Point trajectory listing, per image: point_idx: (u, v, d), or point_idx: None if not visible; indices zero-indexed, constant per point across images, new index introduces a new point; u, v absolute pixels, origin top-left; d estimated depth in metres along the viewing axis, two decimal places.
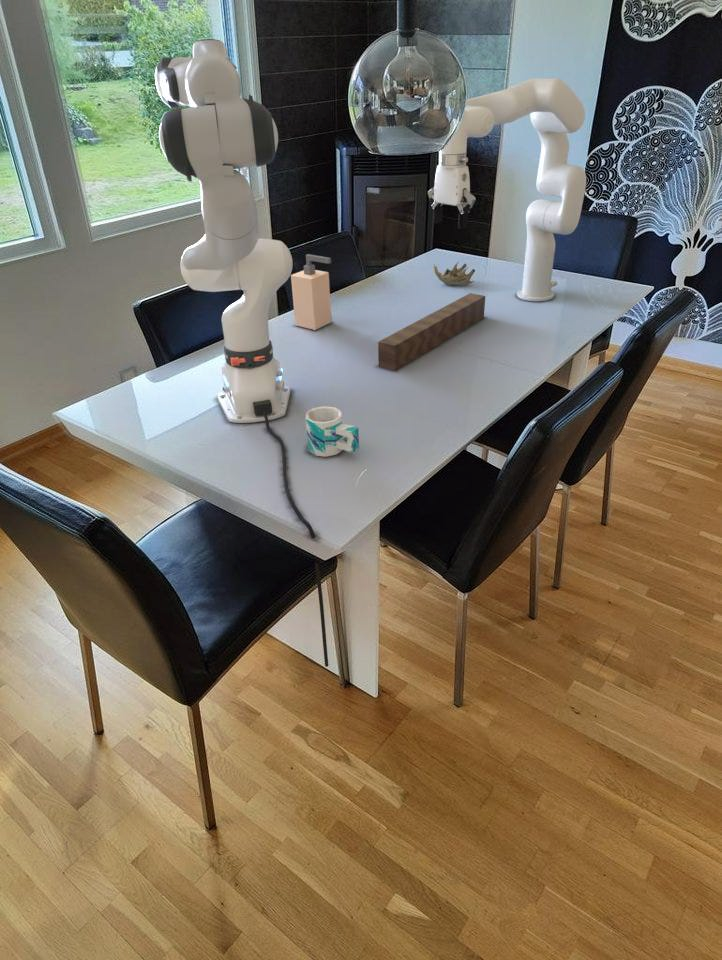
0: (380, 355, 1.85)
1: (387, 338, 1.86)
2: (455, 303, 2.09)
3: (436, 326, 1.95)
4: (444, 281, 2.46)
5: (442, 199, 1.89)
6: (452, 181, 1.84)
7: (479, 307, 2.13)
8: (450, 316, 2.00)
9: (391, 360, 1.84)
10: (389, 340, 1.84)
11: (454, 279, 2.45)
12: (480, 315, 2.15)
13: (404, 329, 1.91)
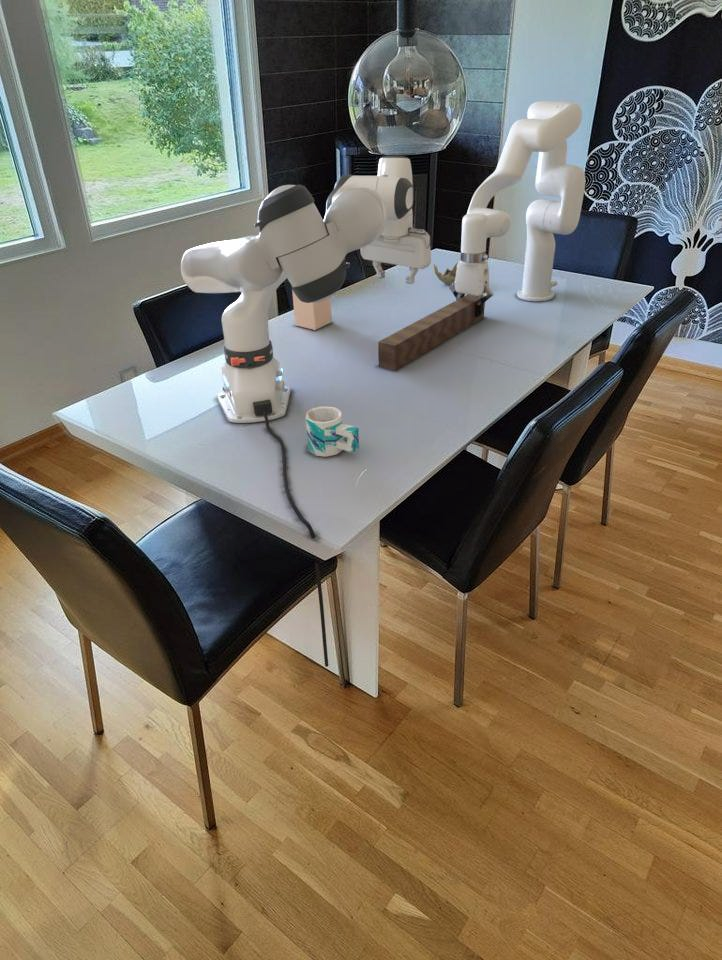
0: (380, 355, 1.85)
1: (387, 338, 1.86)
2: (455, 303, 2.09)
3: (436, 326, 1.95)
4: (444, 281, 2.46)
5: (464, 290, 2.10)
6: (475, 275, 2.05)
7: None
8: (450, 316, 2.00)
9: (391, 360, 1.84)
10: (389, 340, 1.84)
11: (454, 279, 2.45)
12: None
13: (404, 329, 1.91)
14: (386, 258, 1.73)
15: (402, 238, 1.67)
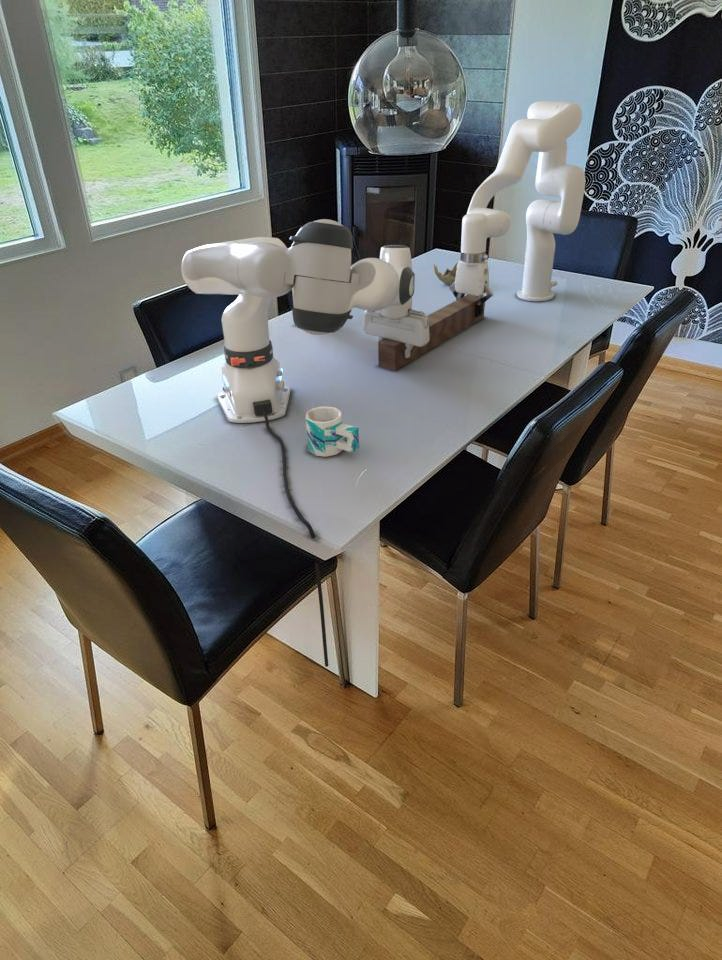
0: (380, 355, 1.85)
1: None
2: (455, 303, 2.09)
3: (436, 326, 1.95)
4: (444, 281, 2.46)
5: (464, 290, 2.10)
6: (475, 275, 2.05)
7: None
8: (450, 316, 2.00)
9: (391, 360, 1.84)
10: (389, 340, 1.84)
11: (454, 279, 2.45)
12: None
13: None
14: (387, 335, 1.84)
15: (402, 318, 1.79)
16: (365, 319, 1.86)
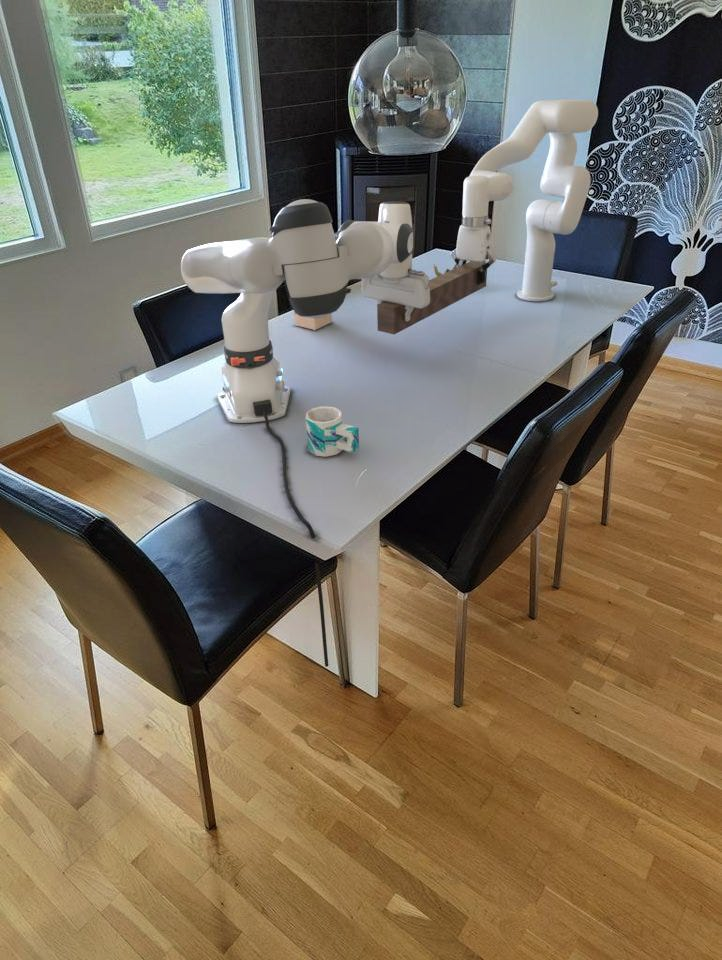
0: (379, 318, 1.80)
1: None
2: (456, 269, 2.03)
3: (437, 291, 1.90)
4: None
5: (466, 256, 2.04)
6: (477, 240, 1.99)
7: None
8: (451, 281, 1.94)
9: (390, 324, 1.78)
10: (389, 303, 1.78)
11: None
12: (482, 283, 2.09)
13: None
14: (386, 297, 1.79)
15: (402, 279, 1.73)
16: (364, 281, 1.80)
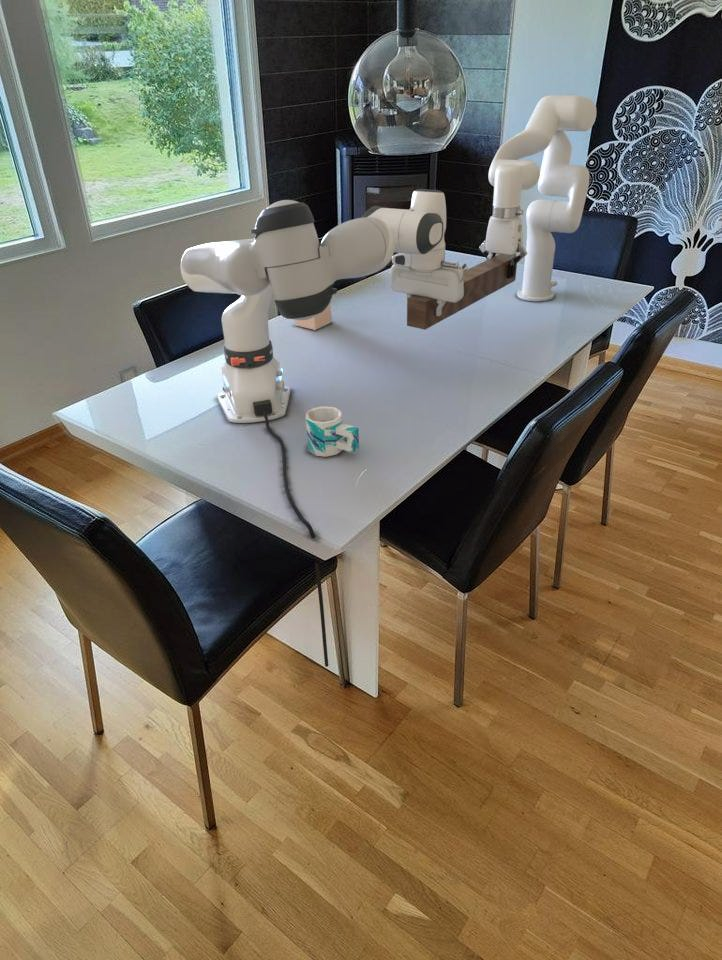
0: (409, 313, 1.71)
1: None
2: (486, 262, 1.95)
3: (467, 284, 1.81)
4: None
5: (495, 249, 1.96)
6: (508, 232, 1.91)
7: None
8: (482, 275, 1.86)
9: (421, 318, 1.70)
10: (419, 297, 1.70)
11: None
12: None
13: None
14: (417, 291, 1.70)
15: (435, 271, 1.64)
16: (393, 274, 1.72)
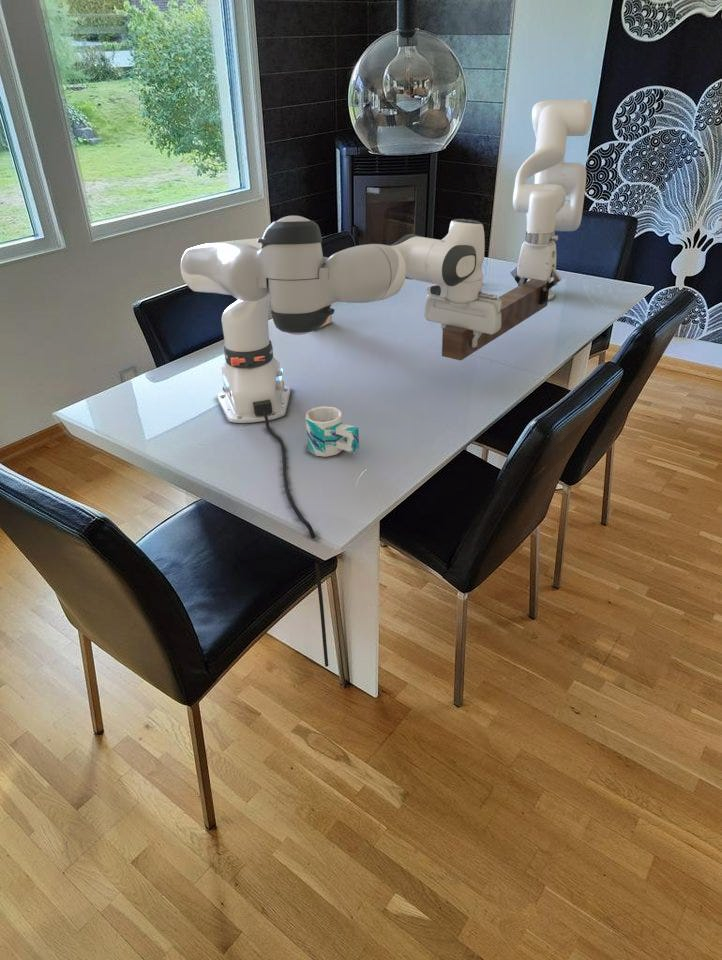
0: (444, 343, 1.67)
1: None
2: (518, 288, 1.90)
3: (502, 312, 1.77)
4: None
5: (528, 274, 1.92)
6: (542, 258, 1.87)
7: None
8: (516, 302, 1.82)
9: (457, 349, 1.65)
10: (455, 327, 1.65)
11: None
12: None
13: None
14: (452, 321, 1.66)
15: (472, 303, 1.60)
16: (427, 304, 1.67)
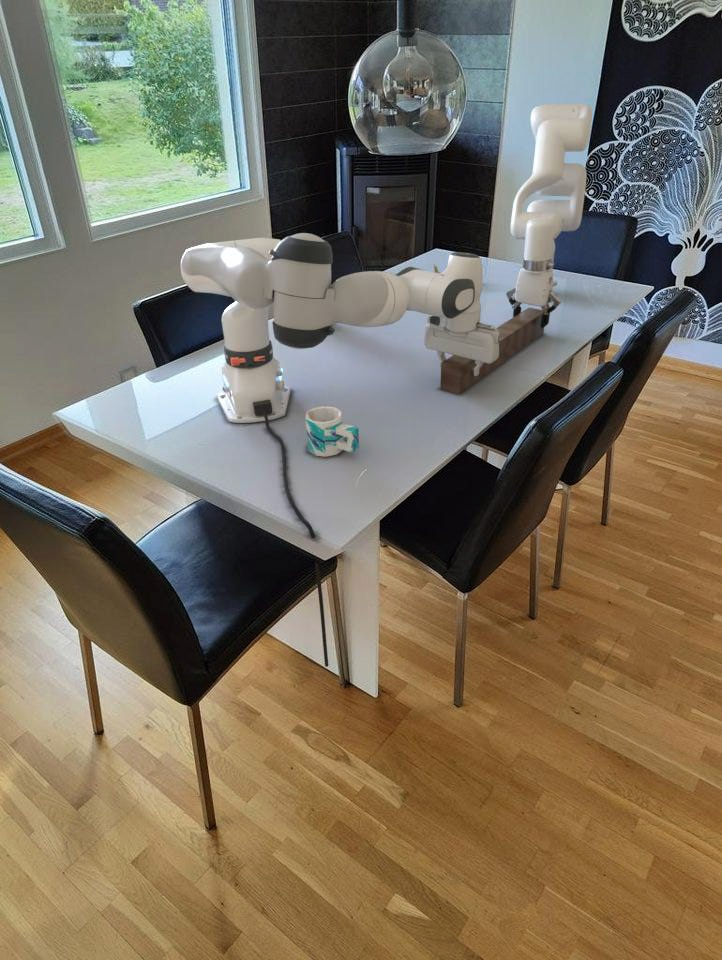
0: (443, 377, 1.72)
1: (450, 359, 1.72)
2: (515, 318, 1.95)
3: (499, 345, 1.81)
4: None
5: (525, 300, 1.95)
6: (539, 285, 1.91)
7: (539, 322, 1.99)
8: (513, 333, 1.86)
9: (455, 383, 1.70)
10: (453, 361, 1.70)
11: None
12: (540, 331, 2.01)
13: None
14: (451, 350, 1.70)
15: (470, 333, 1.64)
16: (427, 333, 1.71)
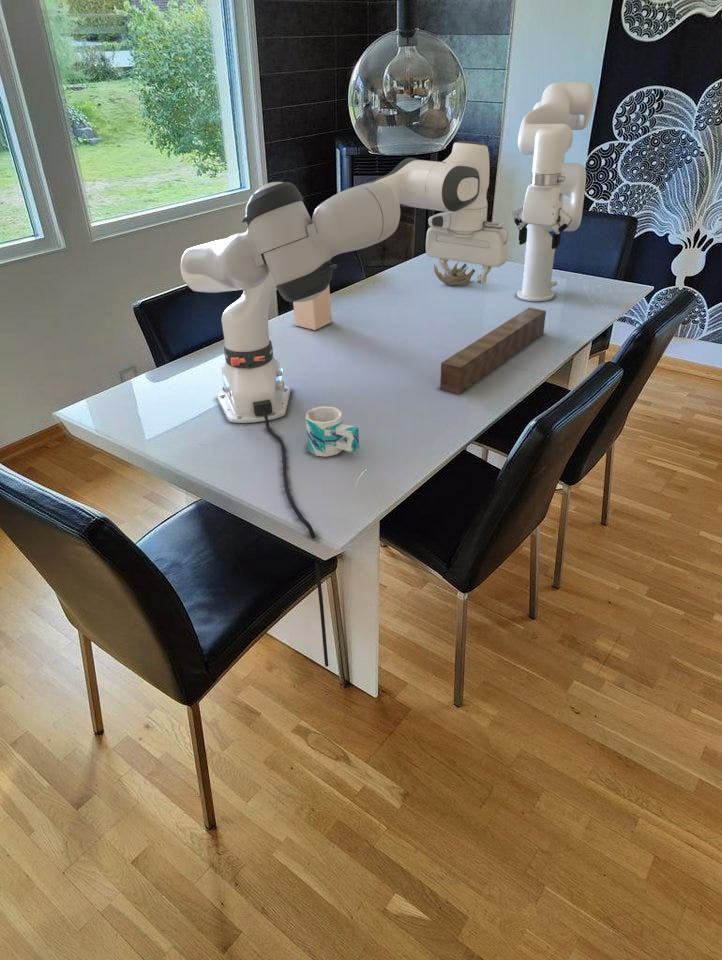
0: (443, 377, 1.72)
1: (450, 359, 1.72)
2: (515, 318, 1.95)
3: (499, 345, 1.81)
4: (444, 281, 2.46)
5: (533, 220, 1.83)
6: (548, 201, 1.78)
7: (539, 322, 1.99)
8: (513, 333, 1.86)
9: (455, 383, 1.70)
10: (453, 361, 1.70)
11: (454, 279, 2.45)
12: (540, 331, 2.01)
13: (466, 348, 1.77)
14: (455, 255, 1.57)
15: (476, 233, 1.51)
16: (429, 238, 1.59)
